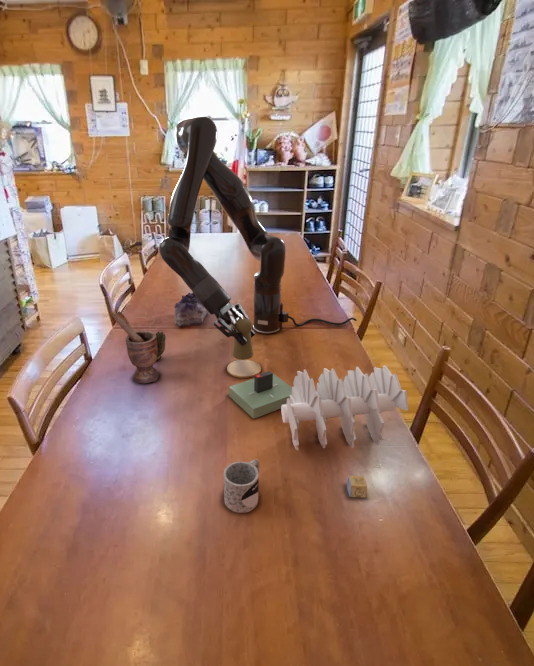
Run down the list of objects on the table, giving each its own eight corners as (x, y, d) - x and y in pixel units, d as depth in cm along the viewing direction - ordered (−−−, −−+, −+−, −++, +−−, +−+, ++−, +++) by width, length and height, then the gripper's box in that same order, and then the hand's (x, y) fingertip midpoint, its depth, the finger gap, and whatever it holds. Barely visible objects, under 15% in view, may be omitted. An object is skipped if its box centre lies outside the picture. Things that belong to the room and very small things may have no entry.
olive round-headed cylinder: (255, 351, 134) (256, 317, 130) (249, 360, 129) (250, 325, 124) (236, 348, 136) (236, 314, 131) (229, 357, 131) (229, 322, 126)
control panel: (271, 381, 128) (271, 372, 127) (298, 402, 119) (298, 391, 118) (229, 396, 122) (228, 386, 121) (253, 418, 113) (253, 408, 111)
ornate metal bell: (169, 354, 144) (167, 331, 141) (164, 365, 138) (162, 341, 134) (146, 353, 145) (144, 330, 142) (140, 364, 138) (137, 341, 135)
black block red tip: (269, 385, 121) (269, 369, 119) (272, 388, 120) (273, 372, 118) (254, 390, 119) (254, 374, 117) (257, 393, 117) (257, 377, 115)
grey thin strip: (247, 518, 85) (247, 491, 82) (217, 503, 88) (216, 477, 85) (271, 484, 92) (272, 458, 90) (243, 472, 96) (243, 447, 93)
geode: (180, 307, 180) (183, 283, 176) (209, 311, 179) (212, 287, 175) (169, 326, 161) (171, 300, 157) (201, 331, 161) (204, 305, 157)
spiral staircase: (280, 443, 110) (380, 431, 111) (294, 464, 92) (413, 450, 94) (272, 368, 110) (372, 357, 111) (285, 375, 92) (404, 362, 94)
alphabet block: (346, 486, 92) (347, 474, 90) (362, 486, 91) (363, 475, 90) (349, 498, 89) (351, 486, 87) (365, 498, 89) (367, 486, 87)
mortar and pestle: (117, 386, 127) (108, 321, 119) (122, 370, 135) (113, 308, 127) (159, 384, 128) (152, 319, 119) (161, 369, 136) (155, 307, 127)
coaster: (249, 358, 141) (249, 356, 141) (267, 372, 133) (267, 370, 133) (220, 366, 136) (220, 365, 136) (238, 381, 129) (238, 379, 128)
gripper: (207, 295, 121) (247, 344, 122) (230, 279, 133) (267, 324, 133) (190, 310, 126) (230, 357, 126) (214, 293, 137) (250, 337, 138)
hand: (249, 340), depth 130 cm, fingers closed on olive round-headed cylinder, 5 cm apart
